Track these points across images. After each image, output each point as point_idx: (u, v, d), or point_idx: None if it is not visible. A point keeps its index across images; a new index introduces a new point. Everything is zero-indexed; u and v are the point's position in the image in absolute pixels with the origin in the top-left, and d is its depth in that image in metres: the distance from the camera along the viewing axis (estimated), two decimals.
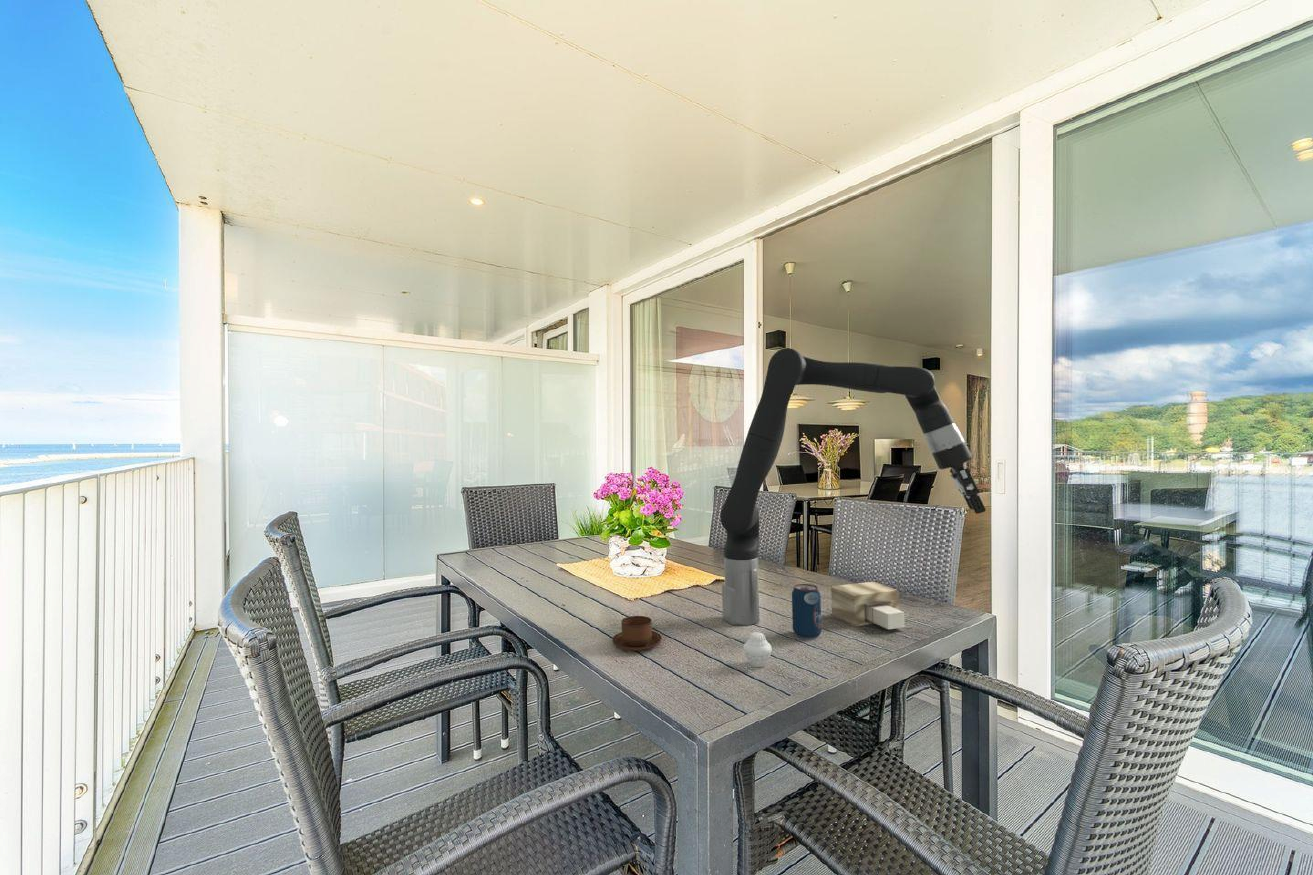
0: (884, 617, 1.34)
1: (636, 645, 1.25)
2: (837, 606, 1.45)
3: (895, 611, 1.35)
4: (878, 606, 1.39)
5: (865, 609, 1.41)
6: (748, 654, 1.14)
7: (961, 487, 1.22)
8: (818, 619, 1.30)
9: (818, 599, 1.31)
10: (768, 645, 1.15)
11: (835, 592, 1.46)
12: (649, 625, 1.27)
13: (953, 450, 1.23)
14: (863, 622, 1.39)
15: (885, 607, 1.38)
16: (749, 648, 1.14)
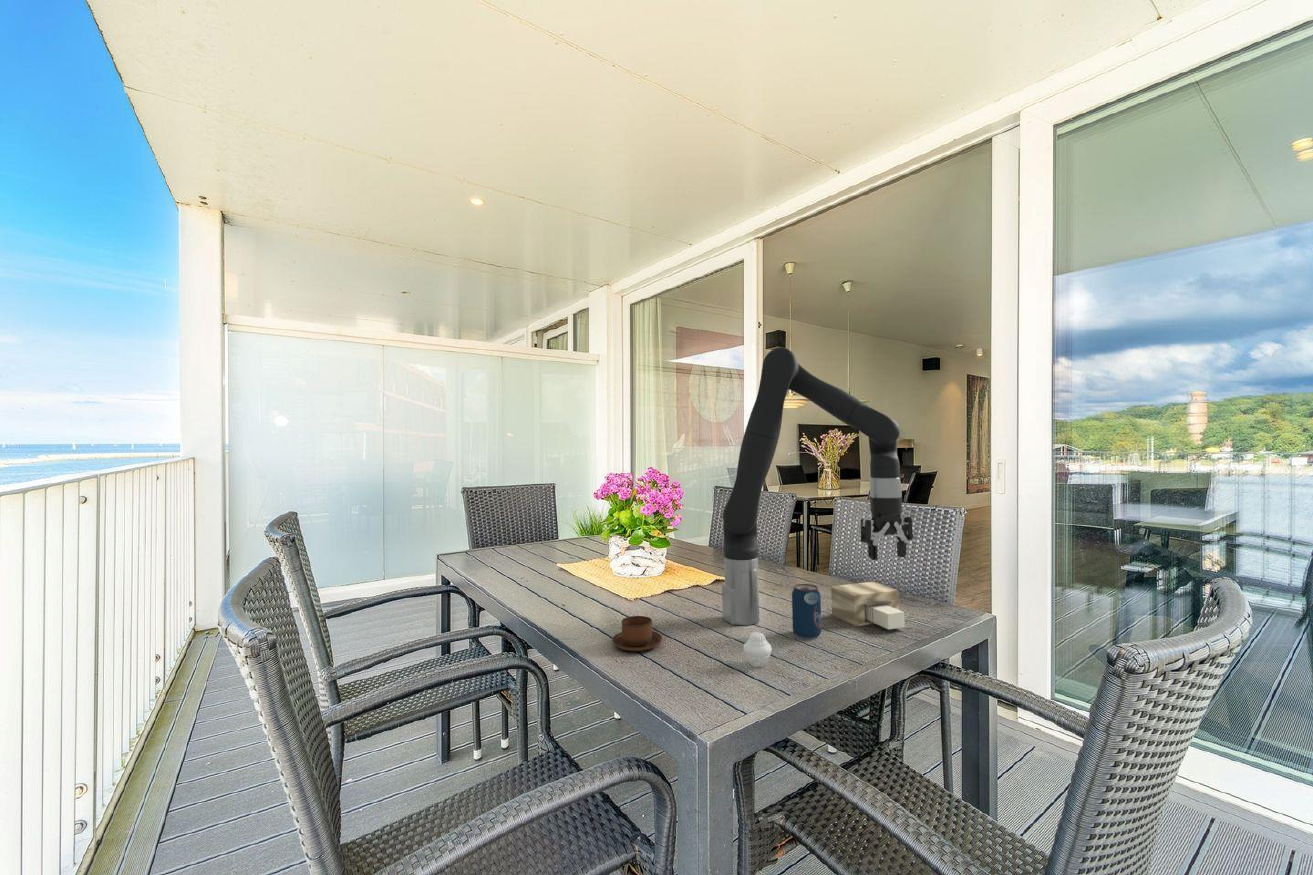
0: (884, 617, 1.34)
1: (636, 645, 1.25)
2: (837, 606, 1.45)
3: (895, 611, 1.35)
4: (878, 606, 1.39)
5: (865, 609, 1.41)
6: (748, 654, 1.14)
7: (870, 533, 1.36)
8: (818, 619, 1.30)
9: (818, 599, 1.31)
10: (768, 645, 1.15)
11: (835, 592, 1.46)
12: (649, 625, 1.27)
13: (874, 500, 1.35)
14: (863, 622, 1.39)
15: (885, 607, 1.38)
16: (749, 648, 1.14)
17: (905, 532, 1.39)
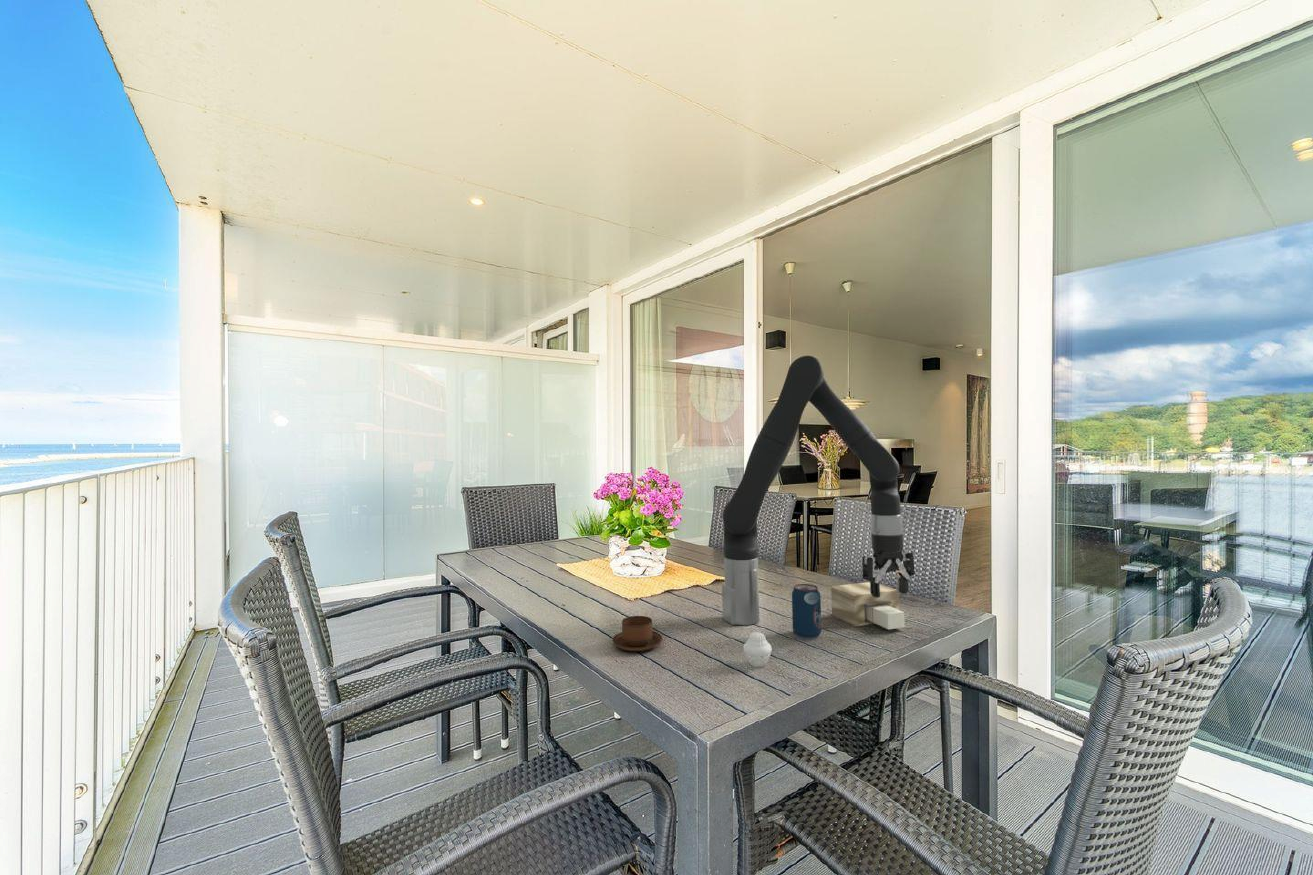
0: (884, 617, 1.34)
1: (636, 645, 1.25)
2: (837, 606, 1.45)
3: (895, 611, 1.35)
4: (878, 606, 1.39)
5: (865, 609, 1.41)
6: (748, 654, 1.14)
7: None
8: (818, 619, 1.30)
9: (818, 599, 1.31)
10: (768, 645, 1.15)
11: (835, 592, 1.46)
12: (649, 625, 1.27)
13: (876, 538, 1.35)
14: (863, 622, 1.39)
15: (885, 607, 1.38)
16: (749, 648, 1.14)
17: (907, 568, 1.39)
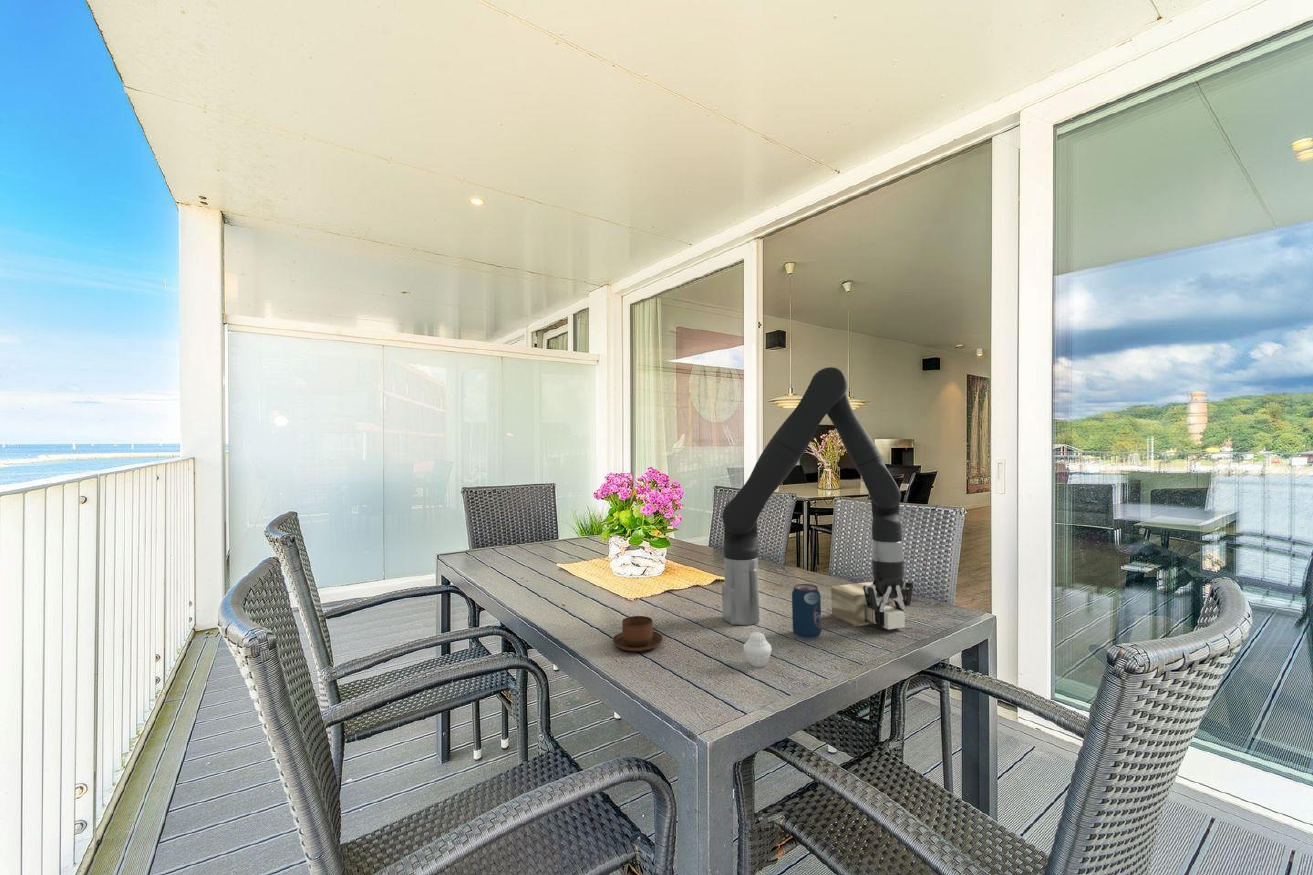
0: (884, 617, 1.34)
1: (637, 645, 1.25)
2: (837, 606, 1.45)
3: (895, 611, 1.35)
4: None
5: (865, 609, 1.41)
6: (748, 654, 1.14)
7: (875, 598, 1.36)
8: (818, 619, 1.30)
9: (818, 599, 1.31)
10: (768, 645, 1.15)
11: (835, 592, 1.46)
12: (650, 625, 1.26)
13: (876, 564, 1.35)
14: (863, 622, 1.39)
15: (885, 607, 1.38)
16: (749, 648, 1.14)
17: (903, 597, 1.38)
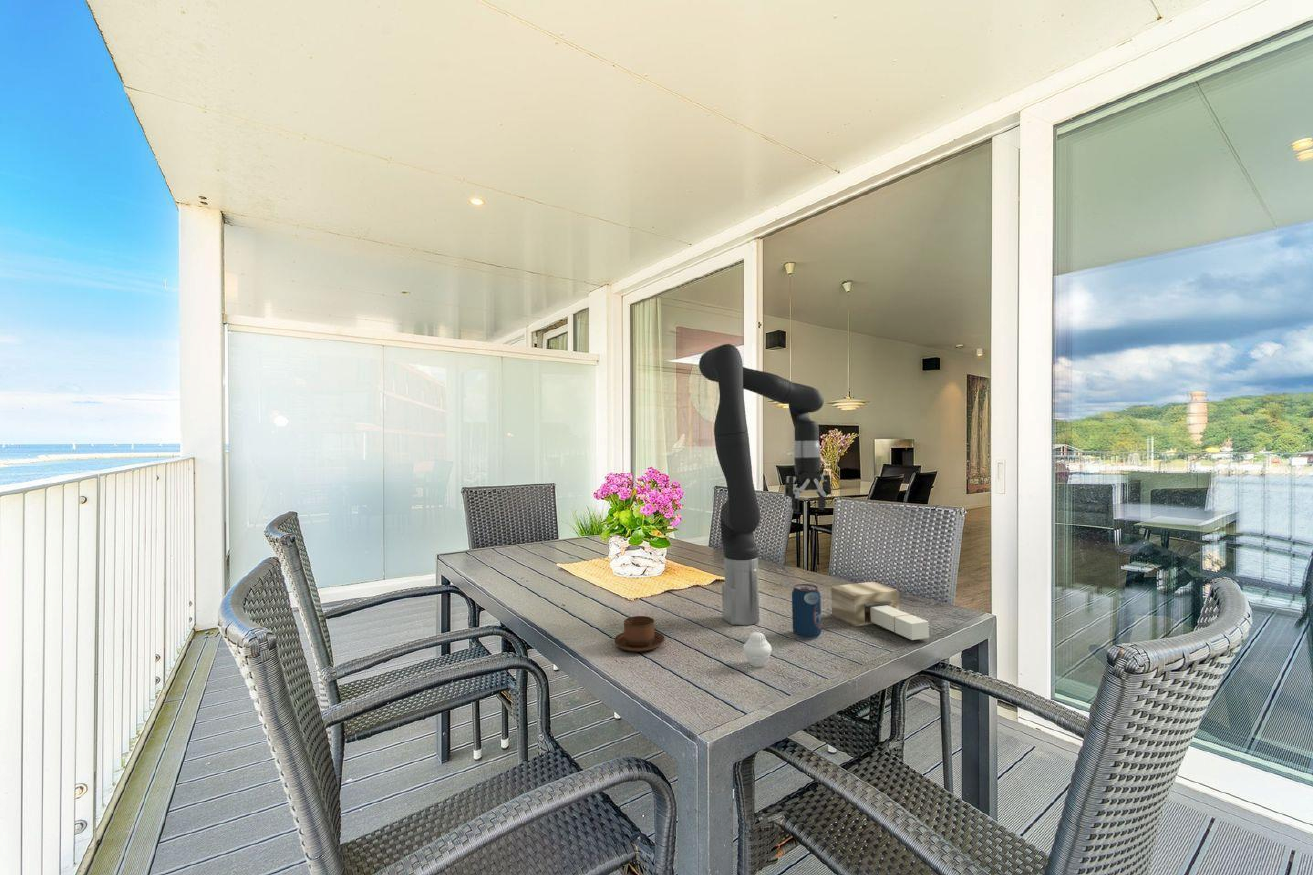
0: (907, 627, 1.27)
1: (638, 645, 1.25)
2: (837, 606, 1.45)
3: (919, 621, 1.27)
4: (900, 615, 1.32)
5: (886, 618, 1.33)
6: (748, 654, 1.14)
7: (794, 488, 1.58)
8: (818, 619, 1.30)
9: (818, 599, 1.31)
10: (768, 645, 1.15)
11: (835, 592, 1.46)
12: (651, 625, 1.26)
13: (797, 460, 1.57)
14: (863, 622, 1.39)
15: (908, 616, 1.31)
16: (749, 648, 1.14)
17: (825, 488, 1.61)
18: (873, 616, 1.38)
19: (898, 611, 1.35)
